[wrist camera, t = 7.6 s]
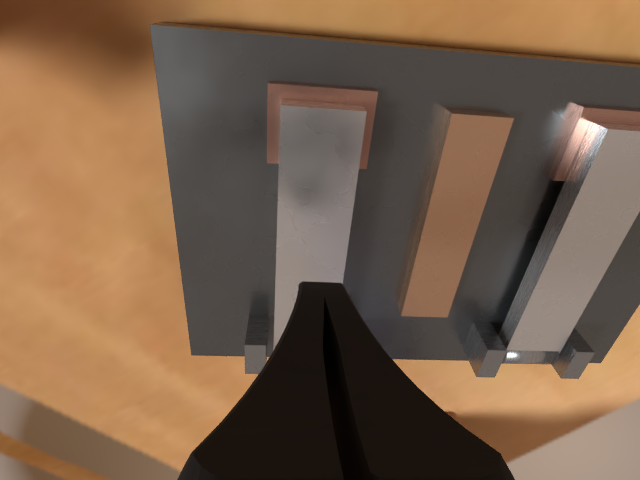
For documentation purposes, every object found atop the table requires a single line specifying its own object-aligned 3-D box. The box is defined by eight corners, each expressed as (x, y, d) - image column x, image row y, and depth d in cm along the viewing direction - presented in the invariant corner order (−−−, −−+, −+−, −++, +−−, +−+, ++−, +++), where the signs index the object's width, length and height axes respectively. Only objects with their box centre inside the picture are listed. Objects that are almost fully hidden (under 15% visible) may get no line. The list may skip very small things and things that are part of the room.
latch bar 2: (540, 350, 22) (554, 369, 21) (489, 349, 22) (500, 369, 21) (657, 125, 16) (687, 136, 15) (587, 120, 16) (611, 130, 14)
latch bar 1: (329, 345, 21) (331, 366, 20) (274, 344, 21) (272, 365, 20) (361, 103, 15) (367, 113, 14) (281, 97, 15) (280, 106, 13)
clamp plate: (585, 344, 25) (624, 391, 22) (197, 335, 23) (182, 385, 20) (749, 73, 17) (848, 90, 14) (162, 21, 15) (128, 28, 12)
